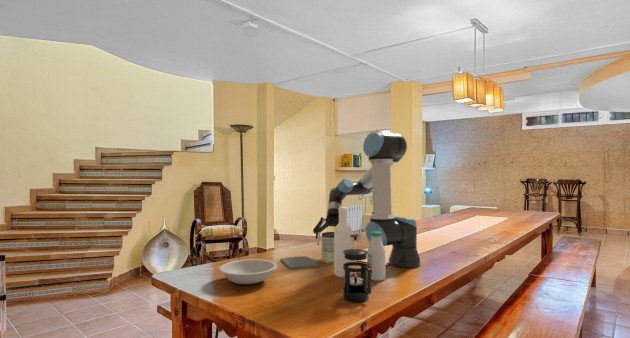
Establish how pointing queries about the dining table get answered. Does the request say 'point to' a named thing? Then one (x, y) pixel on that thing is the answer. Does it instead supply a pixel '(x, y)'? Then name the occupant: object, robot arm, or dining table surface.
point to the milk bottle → (376, 257)
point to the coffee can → (328, 247)
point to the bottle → (341, 243)
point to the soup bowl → (248, 270)
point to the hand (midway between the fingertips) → (330, 244)
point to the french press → (352, 284)
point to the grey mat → (299, 262)
